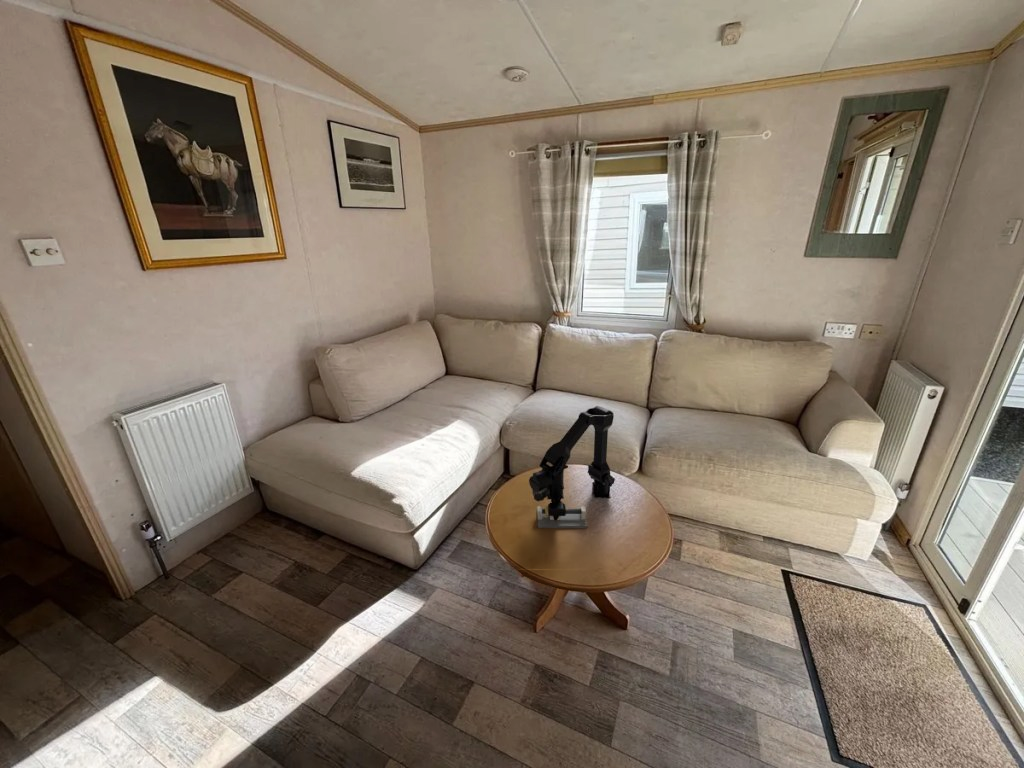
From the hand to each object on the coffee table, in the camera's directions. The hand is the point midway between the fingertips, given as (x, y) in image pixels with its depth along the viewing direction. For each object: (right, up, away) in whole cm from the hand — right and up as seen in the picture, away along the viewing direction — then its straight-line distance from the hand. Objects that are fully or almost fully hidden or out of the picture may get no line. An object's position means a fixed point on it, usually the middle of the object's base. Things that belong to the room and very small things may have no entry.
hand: (555, 515), depth 151 cm
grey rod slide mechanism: (+2, -1, 0) cm, 3 cm away
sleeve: (0, 0, 0) cm, 0 cm away
